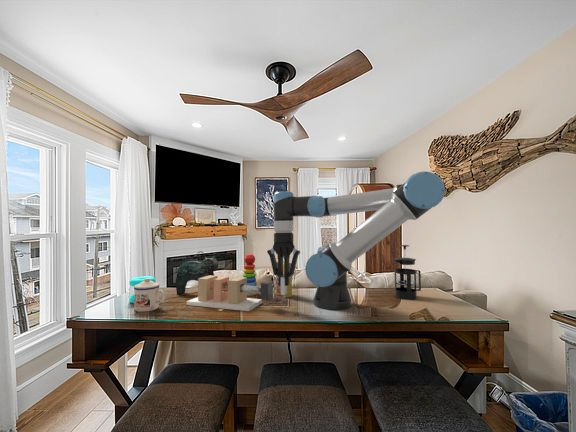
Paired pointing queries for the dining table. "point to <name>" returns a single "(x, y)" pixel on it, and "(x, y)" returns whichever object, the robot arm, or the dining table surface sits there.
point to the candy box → (289, 287)
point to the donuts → (137, 281)
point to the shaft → (257, 289)
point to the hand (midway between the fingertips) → (283, 293)
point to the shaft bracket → (223, 294)
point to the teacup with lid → (147, 296)
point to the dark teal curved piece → (194, 271)
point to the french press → (402, 291)
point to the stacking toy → (250, 272)
